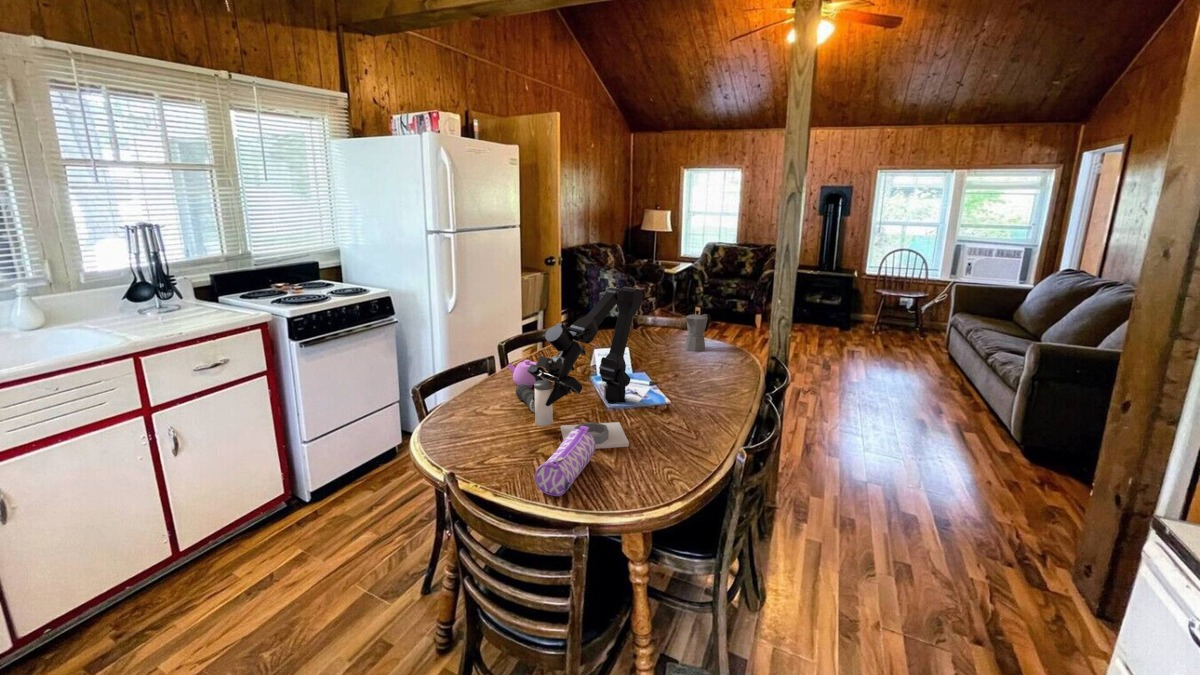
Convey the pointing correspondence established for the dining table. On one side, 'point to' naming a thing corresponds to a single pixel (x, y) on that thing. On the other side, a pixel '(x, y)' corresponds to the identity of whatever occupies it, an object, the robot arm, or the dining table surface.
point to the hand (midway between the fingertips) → (540, 403)
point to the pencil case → (566, 462)
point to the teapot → (523, 373)
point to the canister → (543, 403)
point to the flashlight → (526, 396)
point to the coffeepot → (696, 331)
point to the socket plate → (612, 435)
